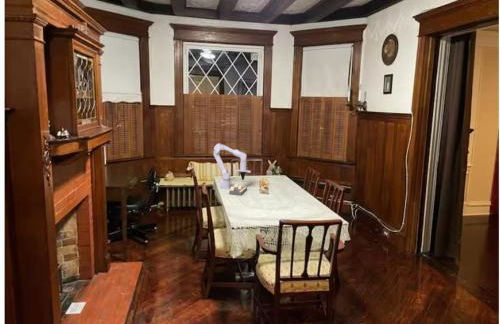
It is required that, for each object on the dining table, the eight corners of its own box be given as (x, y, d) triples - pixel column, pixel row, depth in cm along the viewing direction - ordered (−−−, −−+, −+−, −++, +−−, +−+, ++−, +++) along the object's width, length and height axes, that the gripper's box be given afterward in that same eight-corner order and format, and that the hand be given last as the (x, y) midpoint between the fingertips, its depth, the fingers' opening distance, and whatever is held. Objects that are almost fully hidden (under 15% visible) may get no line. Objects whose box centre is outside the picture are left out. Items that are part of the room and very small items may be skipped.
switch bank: (229, 194, 335) (229, 191, 334) (235, 189, 355) (235, 186, 354) (241, 195, 332) (241, 192, 332) (246, 190, 352) (247, 187, 352)
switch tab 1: (230, 190, 336) (230, 187, 336) (231, 189, 339) (231, 186, 338) (233, 190, 335) (233, 187, 335) (234, 189, 338) (234, 186, 338)
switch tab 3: (238, 189, 341) (238, 186, 341) (238, 188, 344) (238, 185, 344) (241, 189, 341) (241, 186, 340) (242, 188, 344) (242, 185, 343)
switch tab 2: (234, 187, 349) (234, 183, 349) (235, 186, 352) (235, 183, 352) (237, 187, 349) (237, 184, 348) (238, 186, 352) (238, 183, 351)
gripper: (234, 165, 351) (234, 179, 353) (249, 167, 347) (249, 181, 349) (236, 164, 358) (236, 178, 360) (251, 165, 354) (251, 179, 356)
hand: (242, 179), depth 355 cm, fingers closed
